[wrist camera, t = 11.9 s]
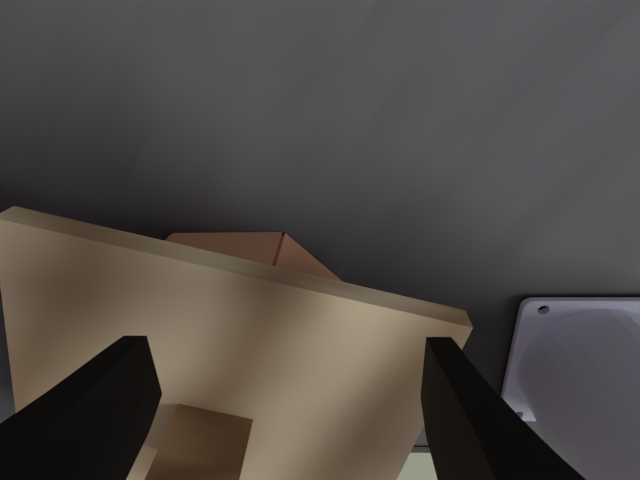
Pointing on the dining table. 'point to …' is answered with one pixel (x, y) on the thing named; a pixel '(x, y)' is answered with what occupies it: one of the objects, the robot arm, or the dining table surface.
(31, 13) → the dining table surface
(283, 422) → the cover board
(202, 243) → the bowl
